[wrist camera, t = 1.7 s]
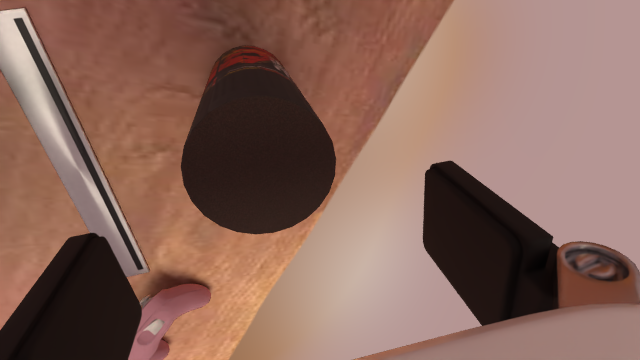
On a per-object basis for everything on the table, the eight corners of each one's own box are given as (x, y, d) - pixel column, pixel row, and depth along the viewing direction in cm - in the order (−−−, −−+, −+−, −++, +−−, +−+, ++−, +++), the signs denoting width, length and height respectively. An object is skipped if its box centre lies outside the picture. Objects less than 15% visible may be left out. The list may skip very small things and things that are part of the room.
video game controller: (182, 261, 34) (134, 298, 27) (218, 290, 34) (179, 334, 27) (135, 326, 37) (80, 375, 30) (169, 353, 37) (121, 408, 30)
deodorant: (300, 65, 26) (360, 128, 13) (272, 134, 29) (301, 247, 16) (223, 31, 24) (208, 67, 11) (199, 108, 26) (162, 214, 13)
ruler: (-28, 14, 21) (-31, 14, 21) (25, 7, 21) (23, 7, 21) (116, 278, 32) (115, 279, 31) (150, 270, 32) (149, 272, 32)
